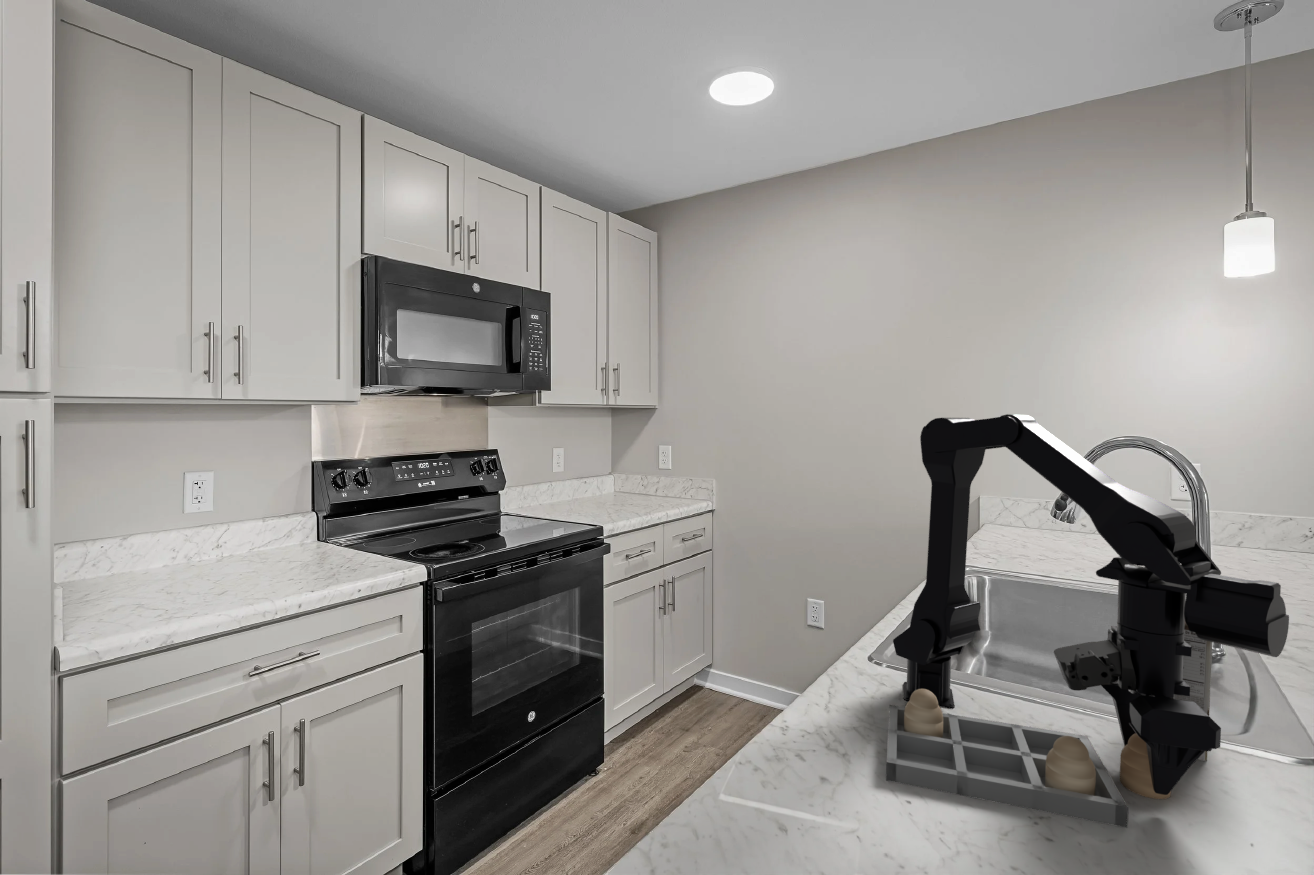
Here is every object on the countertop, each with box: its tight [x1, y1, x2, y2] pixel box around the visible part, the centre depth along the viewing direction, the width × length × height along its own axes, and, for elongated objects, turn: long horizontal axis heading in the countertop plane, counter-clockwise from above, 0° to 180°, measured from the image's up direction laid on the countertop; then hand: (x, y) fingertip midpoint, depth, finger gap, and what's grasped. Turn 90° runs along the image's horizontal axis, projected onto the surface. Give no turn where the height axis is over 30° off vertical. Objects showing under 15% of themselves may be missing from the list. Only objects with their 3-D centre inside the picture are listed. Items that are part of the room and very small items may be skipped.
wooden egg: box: [1119, 733, 1172, 800], centre depth 70 cm, size 4×4×6 cm
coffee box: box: [1173, 622, 1213, 762], centre depth 80 cm, size 9×6×16 cm
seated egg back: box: [904, 689, 944, 738], centre depth 79 cm, size 4×4×6 cm
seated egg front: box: [1045, 736, 1096, 796], centre depth 68 cm, size 4×4×6 cm
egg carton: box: [885, 704, 1129, 829], centre depth 74 cm, size 15×22×2 cm
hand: (1144, 770), depth 70 cm, fingers open, 9 cm apart
